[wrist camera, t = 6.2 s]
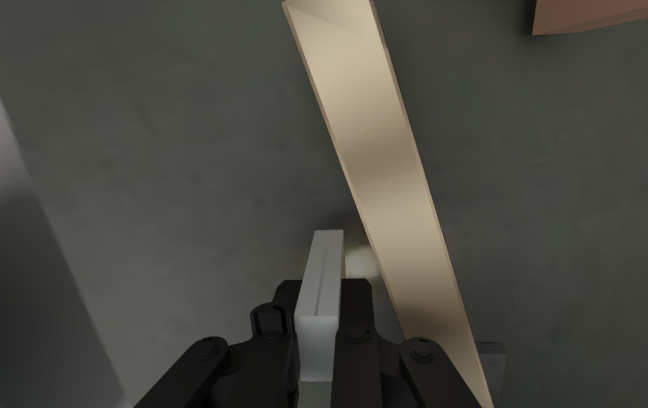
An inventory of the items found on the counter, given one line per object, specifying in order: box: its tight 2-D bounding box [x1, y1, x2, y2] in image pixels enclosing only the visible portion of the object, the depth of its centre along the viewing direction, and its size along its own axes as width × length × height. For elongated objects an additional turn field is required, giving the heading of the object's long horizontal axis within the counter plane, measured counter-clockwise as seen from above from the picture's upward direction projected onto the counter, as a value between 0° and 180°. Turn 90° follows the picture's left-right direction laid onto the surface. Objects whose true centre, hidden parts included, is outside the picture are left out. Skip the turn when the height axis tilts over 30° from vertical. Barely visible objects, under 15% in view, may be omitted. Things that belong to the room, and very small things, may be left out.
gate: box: [282, 0, 494, 408], centre depth 16 cm, size 22×2×8 cm, turn 21°
